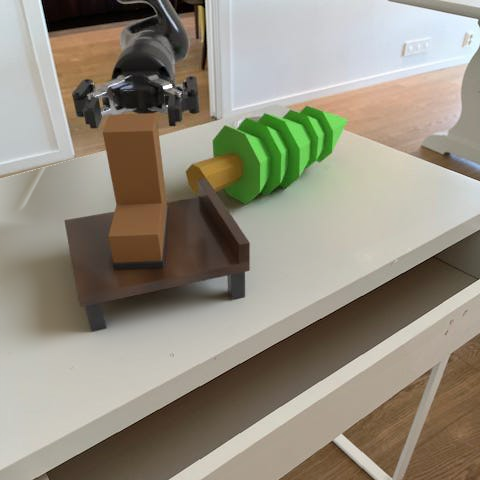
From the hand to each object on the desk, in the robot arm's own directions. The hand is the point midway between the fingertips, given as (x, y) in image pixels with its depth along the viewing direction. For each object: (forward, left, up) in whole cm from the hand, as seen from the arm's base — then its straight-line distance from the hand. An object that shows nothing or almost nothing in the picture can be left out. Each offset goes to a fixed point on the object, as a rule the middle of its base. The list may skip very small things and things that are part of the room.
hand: (132, 118), depth 55 cm
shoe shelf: (-1, -6, -16) cm, 18 cm away
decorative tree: (+22, +11, -17) cm, 30 cm away
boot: (-1, -6, -12) cm, 13 cm away
